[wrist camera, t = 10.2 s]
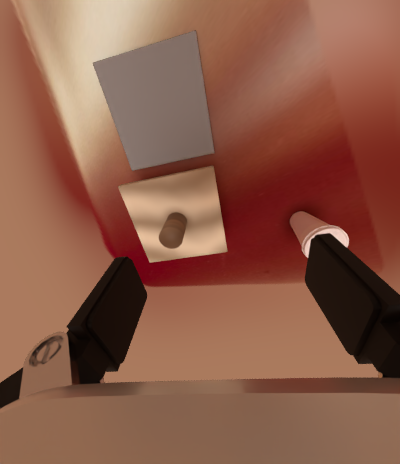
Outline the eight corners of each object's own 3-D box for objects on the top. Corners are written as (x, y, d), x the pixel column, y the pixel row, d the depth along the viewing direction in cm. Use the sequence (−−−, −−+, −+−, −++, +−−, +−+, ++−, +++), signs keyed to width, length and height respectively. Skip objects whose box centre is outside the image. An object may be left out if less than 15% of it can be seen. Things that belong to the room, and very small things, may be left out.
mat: (94, 64, 26) (92, 62, 26) (196, 32, 24) (195, 30, 24) (133, 170, 33) (132, 170, 33) (214, 152, 31) (214, 152, 31)
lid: (121, 184, 27) (98, 197, 22) (213, 165, 25) (214, 174, 20) (151, 258, 34) (140, 283, 28) (226, 247, 32) (230, 272, 26)
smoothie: (285, 237, 38) (321, 287, 26) (279, 211, 36) (316, 252, 23) (318, 228, 37) (372, 275, 25) (314, 199, 34) (373, 237, 22)
